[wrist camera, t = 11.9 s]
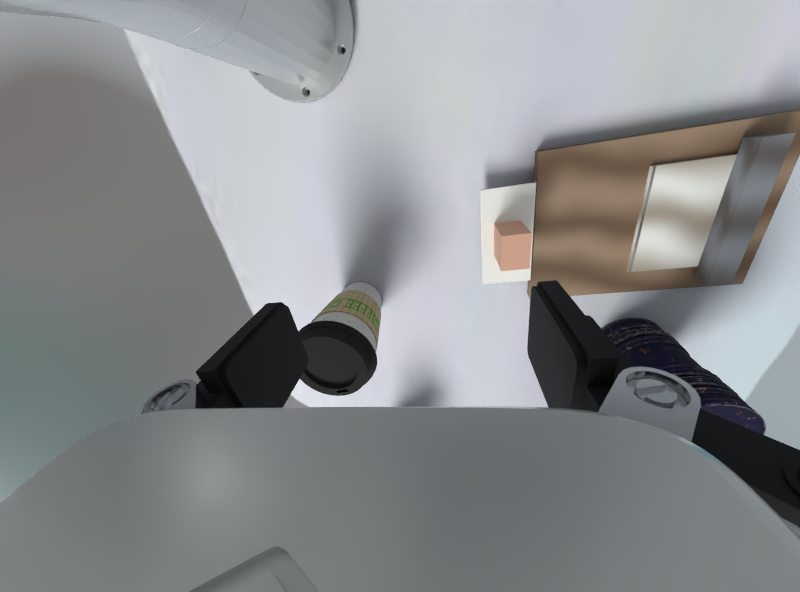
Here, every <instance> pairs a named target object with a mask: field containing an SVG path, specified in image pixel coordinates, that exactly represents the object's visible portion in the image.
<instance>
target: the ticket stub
mask: <svg viewBox="0 0 800 592" xmlns="http://www.w3.org/2000/svg"><path fill="white" fill-rule="evenodd" d="M535 194H536V182H533V183H526V184H519V185H511V186H504V187H497V188H490V189H483V190H480V222H481V261H482V284H492V283H504V282H516V281H528V280H530V276H531V260H532V243H533V227H534V210H535Z"/></svg>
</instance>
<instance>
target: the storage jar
mask: <svg viewBox="0 0 800 592" xmlns="http://www.w3.org/2000/svg"><path fill="white" fill-rule="evenodd" d="M602 330H603V332H604V333H605V334H606V335H607V336H608V338H609V339H610V340H611V341H612V343H613V344H614V345H615V346H616V347H617V349H618V350H619V351H620V352H621V353H622V355H623V356H624V357H625V358H626V359H627V361H628V362H629V363H630V364H631V366H632V367H650V368H655V369H659V370H663V371H666V372H668V373H671V374H673V375H675V376H677V377H679V378H681V379H682V380H684V381H686V382H687V383H688V384H689V385H690V386H692V387H693V388H694V389H695V390H696V392H697V393H698V395H699V396H700V401H701V406H700V409H702V410H705V411H707V412H710V413H712V414H714V415H717V416H719V417H722V418H724V419H726V420H729V421H731V422H733V423H736V424H738V425H741V426H743V427H745V428H748V429H750V430H753V431H755V432H757V433H760V434H762V435H764V433H765V429H766V427H765V422H764V420H763V418H762V417H761V416H760V415H759V414H758V413H757V412H756V411H754V410H753V409H752V408H751V407H749V406H748V405H747V404H746V403H745V402H744V401H743V400H742V399H741V398H740V397H739V396H738V394H737V393H736V392H734V391H733V390H732V389H731V388H730V387H729V386H727V385H726V384H725V383H723V382H722V381H721V379H720V378H719V377H717V376H716V375H714V374H712V373H711V372H710V371H708V370H706V369H704V368H702V367H701V366H700V365H699V364H698V363H697V362H695V361H694V360H693V359H692V358H691V357H690V355H689V353H688V352H687V351H686V350H685V349H684V348H683V347H682V346H681V345H680V344H679V343H678V342H677V341H676V340H675V339H674V338H673V337H672V336H670V335H669V334H668V333H666V332H664V331H663V330H662V329H661V328H660V327H659V326H658V325H657V324H655V323H654V322H652V321H650V320H647V319H642V318H627V319H622V320H618V321H615V322H613V323H610V324H609V325H607V326H605V327H603V328H602Z"/></svg>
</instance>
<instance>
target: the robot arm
mask: <svg viewBox="0 0 800 592" xmlns="http://www.w3.org/2000/svg"><path fill="white" fill-rule="evenodd" d="M0 12H7V13H18V14H30V15H42V16H55V17H67V18H75V19H83V20H88V21H94V22H99V23H104V24H108V25H112V26H116V27H120V28H124V29H128V30H131V31H134V32H137V33H141V34H144V35H147V36H150V37H153V38H157V39H160V40H163V41H165V42H168V43H171V44H174V45H177V46H179V47H182V48H185V49H188V50H191V51H194V52H197V53H200V54H203V55H206V56H209V57H212V58H215V59H218V60H221V61H223V62H226V63H229V64H232V65H235V66H238V67H241V68H244V69H247V70H249V71H250V73H251V74H252V75H253V77H254V78H255V79H256V80H257V81H258V82H259V83H260V84H261V85H262V86H263V87H264V88H265V89H267V90H268V91H270V92H271V93H273V94H274V95H276V96H278V97H281V98H283V99H285V100H289V101H293V102H303V103H305V102H311V101H315V100H318V99H320V98H322V97H324V96H326V95H327V94H328V93H330V92H331V91H332V90H333V89H334V88H335V87H336V86H337V85H338V83H339V82H340V81H341V79H342V77H343V75H344V74H345V72H346V70H347V67H348V64H349V61H350V58H351V53H352V48H353V37H354V25H353V16H352V10H351V5H350V1H349V0H0ZM343 48H345V49H346V52H345V53H344V54H342V49H343ZM309 90H310V95H308V93H307V92H308V91H309ZM528 356H529V359H530V361H531V364H532V366H533V369H534V371H535V374H536V376H537V379H538V382H539V384H540V387H541V389H542V392H543V394H544V397H545V399H546V402H547V404H548V407H549V408H542V407H299V408H298V407H296V408H295V407H292V408H291V407H290V408H289V407H288V408H287V407H286V408H285V407H284V408H283V406H284V404H285V402H286V401H287V399H288V397H289V396H290V394H291V392H292V391H293V389H294V387H295V385H296V384H297V382H298V380H299V379H300V377H301V375H302V373H303V372H304V370H305V368H306V367H307V364H308V356H307V353H306V350H305V348H304V345H303V343H302V340H301V338H300V335H299V333H298V330H297V327H296V325H295V322H294V320H293V317H292V315H291V312H290V310H289V308H288V306H286V305H284V304H283V303H282V302H279V303H267V304H266V305H265V306H264V307H263V308H262V309H260V310H259V311H258V312H257V313H256V314H255V315H254V316H253V317H252V318H251V319H250V320H249V321H248V322H247V323H246V324H245V325H244V326H243V327H242V328H241V329H240V330H239V331H238V332H237V333H236V334H235V335H233V336H232V337H231V338H230V340H228V341H227V342H226V343H225V344H224V345H223V346H222V347H221V348H220V349H219V350H218V351H217V352H216V353H215V354H214V355H213V356H212V357H211V358H210V359H209V360H207V362H206V363H204V364H203V365H202V366H201V367H200V368H199V369H198V370H197V371H196V373H197V375H198V376H199V378H200V379H201V381H200V382H199V383H198V384H196V382H195V381H194V380H192V379H185V380H180V381H177V382H174V383H172V384H169V385H167V386H165V387H164V388H162V389H160V390H159V391H157V392H156V393H155V394H154V395H152V396H151V397H150V398H149V399H148V400H147V402H146V403H145V404H144V406H143V409H142V412H141V415H137V416H132V417H129V418H125V419H122V420H119V421H116V422H113V423H110V424H108V425H105V426H103V427H101V428H98V429H96V430H94V431H92V432H90V433H88V434H86V435H85V436H83V437H81V438H80V439H78V440H77V441H76V442H74V443H73V444H71V445H70V446H69V447H67V448H66V449H65V450H64V451H63V452H61V453H60V454H59V455H57V456H56V457H55V458H53V459H52V460H51V461H50V462H49V463H47V464H46V465H45V466H43V467H42V468H41V469H40V470H38V472H36V473H35V474H34V475H32V476H31V477H30V478H29V479H27V480H26V481H25V482H24V483H23V484H21V485H20V486H19V487H18V488H16V489H15V490H14V491H13V492H12V493H10V494H9V495H8V496H7V497H6V498H5V499H3V500H2V501H1V502H0V592H800V450H798V449H795V448H793V447H791V446H788V445H786V444H784V443H781V442H779V441H776V440H774V439H772V438H769V437H767V436H765V435H762V434H760V433H757V432H755V431H753V430H750V429H748V428H745V427H743V426H741V425H738V424H736V423H733V422H731V421H729V420H726V419H724V418H722V417H719V416H717V415H714V414H712V413H710V412H707V411H705V410H702V409H700V406H701V401H700V396H699V395H698V393H697V392H696V390H695V389H694V388H693V387H692V386H690V385H689V384H688V383H687V382H686V381H684V380H682V379H681V378H679V377H677V376H675V375H673V374H671V373H668V372H666V371H663V370H659V369H655V368H650V367H632V366H631V364H630V363H629V362H628V361H627V359H626V358H625V357H624V356H623V355H622V353H621V352H620V351H619V350H618V349H617V347H616V346H615V345H614V344H613V343H612V341H611V340H610V339H609V338H608V336H607V335H606V334H605V333H604V332H603V330H602V329H601V328H600V327H599V326H598V324H597V323H596V322H595V321H594V319H593V318H591V317H590V316H585V315H584V314H583V312H582V311H581V310H580V309H579V307H578V306H577V305H576V304H575V302H574V301H573V300H572V299H571V297H570V296H569V295H568V293H567V292H566V291H565V290H564V288H563V287H562V286H561V285H560V283H559V282H558V281H557V280H552V281H540V282H538V283H537V286H532V288H531V300H530V316H529V332H528Z"/></svg>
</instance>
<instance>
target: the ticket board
mask: <svg viewBox="0 0 800 592" xmlns="http://www.w3.org/2000/svg"><path fill="white" fill-rule="evenodd" d="M799 155H800V110H793V111H787V112H781V113H774V114H768V115H762V116H755V117H749V118H743V119H736V120H730V121H724V122H718V123H711V124H705V125H699V126H692V127H686V128H680V129H673V130H667V131H661V132H654V133H648V134H642V135H636V136H629V137H623V138H617V139H610V140H604V141H598V142H591V143H585V144H579V145H572V146H566V147H560V148H553V149H547V150H541V151H535V168H534V182H536V194H535V210H534V227H533V243H532V260H531V276H530V280H528V291H527V294H528V295H529V297H530V299H531V288H532V286H537V283H538V282H540V281H552V280H557V281H558V282H559V283H560V285H561V286H562V287H563V288H564V290H565V291H566V292H567V293H568V295H569V296H574V295H588V294H602V293H617V292H631V291H645V290H659V289H673V288H687V287H702V286H716V285H730V284H742V283H743V281H744V279H745V277H746V274H747V272H748V270H749V268H750V265H751V263H752V261H753V259H754V256H755V254H756V252H757V250H758V247H759V245H760V243H761V241H762V238H763V236H764V234H765V232H766V229H767V227H768V225H769V223H770V220H771V218H772V216H773V214H774V211H775V209H776V207H777V205H778V202H779V200H780V198H781V196H782V193H783V191H784V189H785V187H786V184H787V182H788V180H789V178H790V175H791V173H792V171H793V169H794V166H795V164H796V162H797V160H798V157H799Z"/></svg>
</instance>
